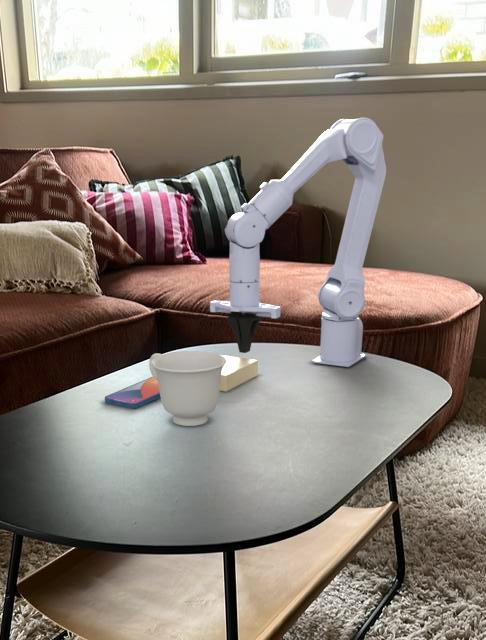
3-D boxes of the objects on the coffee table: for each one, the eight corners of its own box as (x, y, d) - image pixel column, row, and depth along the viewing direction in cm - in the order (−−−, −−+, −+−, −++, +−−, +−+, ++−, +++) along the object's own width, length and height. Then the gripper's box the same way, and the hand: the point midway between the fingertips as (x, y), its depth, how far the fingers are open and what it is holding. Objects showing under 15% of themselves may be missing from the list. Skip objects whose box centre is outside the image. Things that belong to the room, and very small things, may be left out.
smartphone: (102, 403, 134) (101, 397, 133) (155, 380, 145) (154, 375, 144) (134, 410, 130) (134, 404, 129) (186, 386, 141) (186, 381, 140)
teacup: (179, 400, 134) (177, 344, 129) (242, 419, 124) (242, 358, 120) (126, 417, 126) (122, 358, 122) (190, 438, 117) (187, 374, 112)
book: (216, 369, 152) (216, 353, 151) (257, 375, 147) (258, 359, 146) (182, 384, 143) (182, 368, 141) (226, 392, 138) (226, 375, 137)
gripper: (200, 281, 145) (202, 352, 151) (268, 286, 138) (267, 360, 144) (220, 275, 150) (221, 344, 156) (286, 280, 143) (284, 352, 149)
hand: (244, 351), depth 150 cm, fingers closed
